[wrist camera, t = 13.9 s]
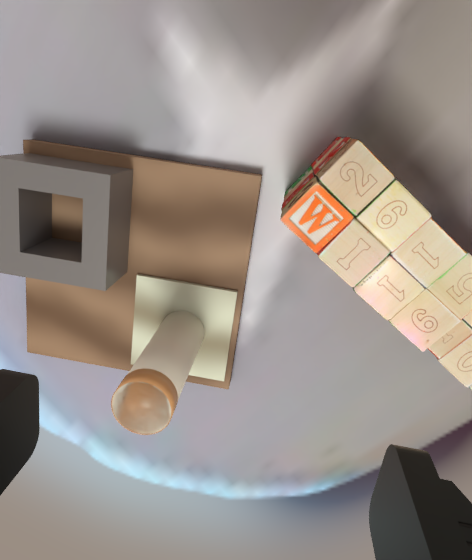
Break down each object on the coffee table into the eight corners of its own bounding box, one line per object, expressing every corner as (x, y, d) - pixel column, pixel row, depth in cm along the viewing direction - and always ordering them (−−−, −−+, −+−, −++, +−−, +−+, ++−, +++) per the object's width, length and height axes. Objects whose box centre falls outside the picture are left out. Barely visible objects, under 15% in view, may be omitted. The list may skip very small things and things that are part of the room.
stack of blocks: (510, 310, 39) (604, 387, 27) (451, 355, 41) (515, 445, 29) (336, 134, 36) (358, 136, 24) (281, 192, 38) (277, 219, 26)
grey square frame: (29, 153, 38) (-9, 156, 33) (133, 169, 37) (110, 175, 32) (30, 255, 40) (-4, 271, 36) (127, 272, 40) (105, 290, 35)
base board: (33, 139, 39) (20, 140, 37) (262, 174, 37) (260, 176, 36) (35, 345, 45) (25, 353, 43) (230, 380, 44) (227, 391, 42)
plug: (162, 306, 40) (112, 376, 29) (207, 314, 40) (174, 387, 29) (159, 347, 42) (110, 428, 30) (202, 354, 41) (169, 439, 30)
